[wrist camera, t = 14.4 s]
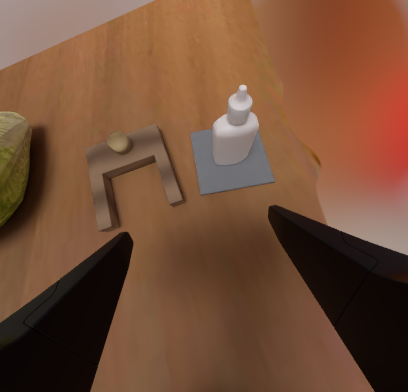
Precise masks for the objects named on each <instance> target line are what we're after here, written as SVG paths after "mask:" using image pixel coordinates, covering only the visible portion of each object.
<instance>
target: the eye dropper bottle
mask: <svg viewBox="0 0 408 392" xmlns="http://www.w3.org/2000/svg"><path fill="white" fill-rule="evenodd" d="M251 106H252V98H251V97H250V96H249V95H248V94H247V87H246V86H245V85H241V86H240V87H239V89H238V92H237V93H235V94H233V95H232V96H231V97H230V98H229V101H228V109H227V114H225V115H223V116H222V117H220V118H219V119H218V120H216V121H215V123H214V124H213V158H214V162H215V163H216V164H217V165H233V164H236V163H239V162H241V161H242V160H244V159H245V158H246V157H247V155H248V153H249V151H250V148H251V146H252V143H253V141H254V138H255V136H256V133H257V131H258V127H259V123H258V119H257V117H256V115H255V114H254V113H252V112H250V110H251Z"/></svg>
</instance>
